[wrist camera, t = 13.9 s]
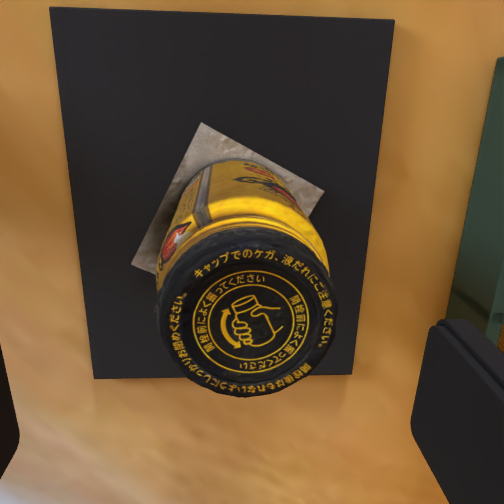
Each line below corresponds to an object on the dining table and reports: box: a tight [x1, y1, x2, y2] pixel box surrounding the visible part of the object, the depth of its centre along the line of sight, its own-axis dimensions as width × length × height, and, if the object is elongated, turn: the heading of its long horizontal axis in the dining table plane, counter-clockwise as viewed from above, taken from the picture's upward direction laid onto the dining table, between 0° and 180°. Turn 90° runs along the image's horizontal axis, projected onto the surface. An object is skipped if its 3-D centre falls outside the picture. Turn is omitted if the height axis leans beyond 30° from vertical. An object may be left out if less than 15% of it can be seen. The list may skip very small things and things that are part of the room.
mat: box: [49, 7, 395, 379], centre depth 24 cm, size 20×16×1 cm
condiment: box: [131, 122, 339, 398], centre depth 18 cm, size 7×8×12 cm
